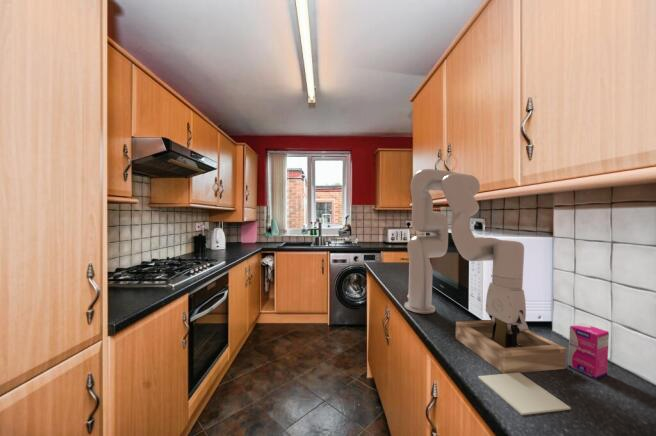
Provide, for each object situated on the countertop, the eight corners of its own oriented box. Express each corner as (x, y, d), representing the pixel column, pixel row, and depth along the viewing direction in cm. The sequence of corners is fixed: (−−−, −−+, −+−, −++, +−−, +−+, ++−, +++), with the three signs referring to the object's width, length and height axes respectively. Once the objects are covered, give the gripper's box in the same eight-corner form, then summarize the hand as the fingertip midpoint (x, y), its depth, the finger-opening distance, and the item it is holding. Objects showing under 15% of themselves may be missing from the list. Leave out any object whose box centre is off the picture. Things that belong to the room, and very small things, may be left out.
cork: (515, 359, 72) (517, 320, 72) (490, 351, 76) (492, 315, 76) (516, 350, 77) (517, 314, 77) (492, 343, 81) (494, 309, 81)
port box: (455, 338, 84) (455, 321, 84) (505, 335, 87) (505, 319, 87) (504, 374, 65) (504, 352, 65) (565, 368, 69) (566, 348, 68)
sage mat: (477, 377, 64) (477, 376, 64) (519, 374, 66) (519, 372, 66) (521, 415, 52) (521, 413, 52) (570, 409, 54) (570, 407, 54)
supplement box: (567, 366, 70) (568, 325, 69) (579, 362, 72) (581, 322, 71) (595, 379, 64) (597, 334, 64) (608, 374, 66) (609, 331, 66)
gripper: (475, 275, 84) (472, 330, 84) (521, 290, 67) (518, 359, 68) (495, 274, 85) (492, 328, 85) (545, 290, 69) (542, 357, 69)
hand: (504, 341), depth 77 cm, fingers closed on cork, 4 cm apart
